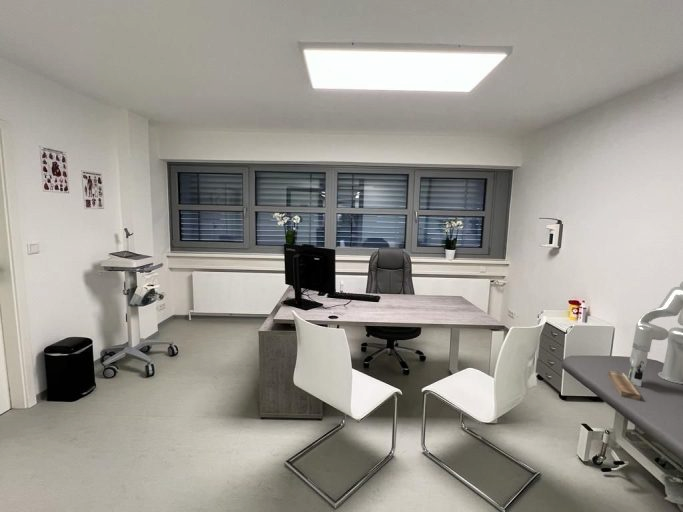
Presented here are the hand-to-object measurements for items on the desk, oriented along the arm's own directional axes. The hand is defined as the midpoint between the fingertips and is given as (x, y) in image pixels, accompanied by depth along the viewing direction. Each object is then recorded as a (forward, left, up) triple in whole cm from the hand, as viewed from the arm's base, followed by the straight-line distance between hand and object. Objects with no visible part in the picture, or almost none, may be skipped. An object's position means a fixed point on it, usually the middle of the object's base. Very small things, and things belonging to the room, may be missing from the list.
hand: (635, 376), depth 194 cm
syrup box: (0, 0, -5) cm, 5 cm away
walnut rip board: (+8, +9, -4) cm, 13 cm away
